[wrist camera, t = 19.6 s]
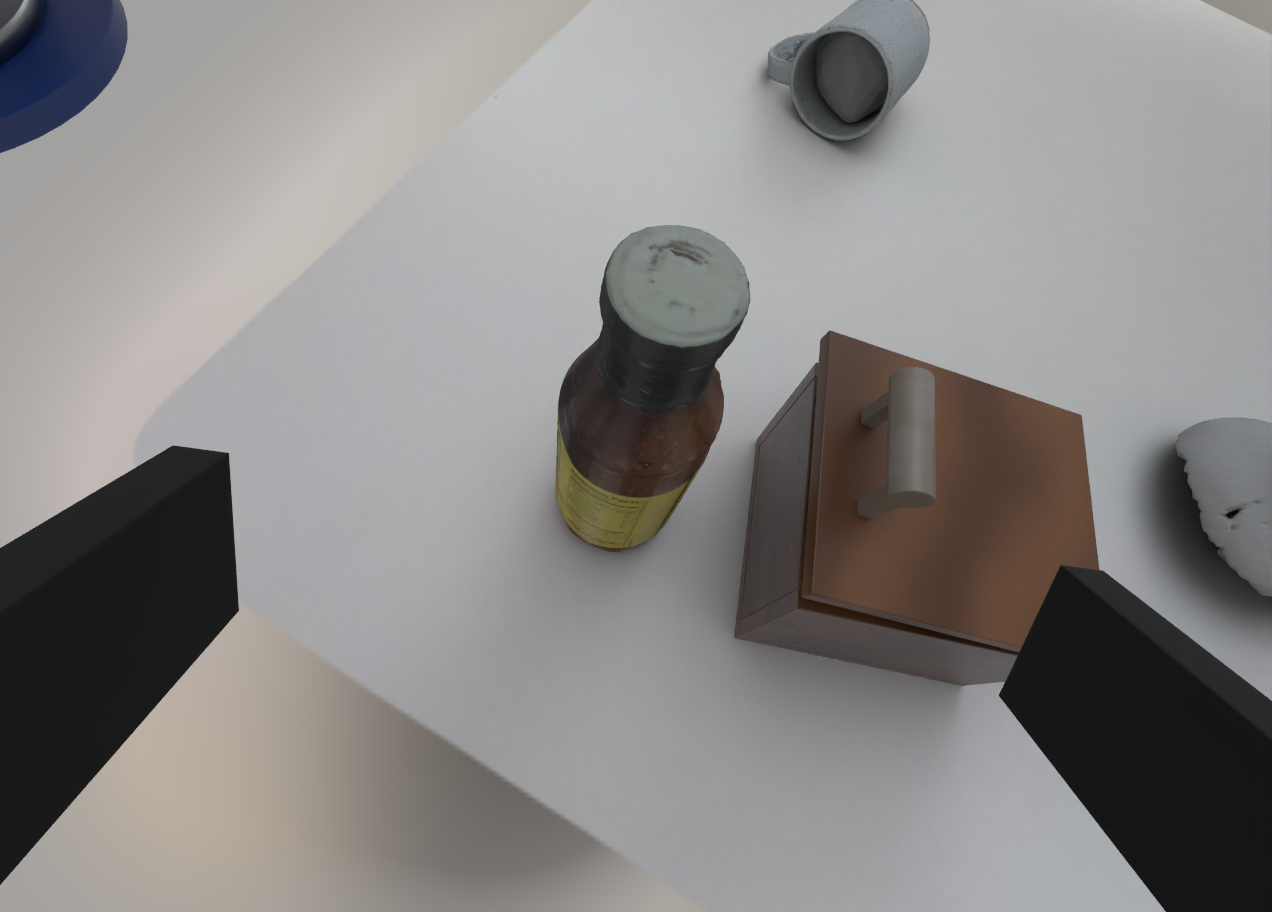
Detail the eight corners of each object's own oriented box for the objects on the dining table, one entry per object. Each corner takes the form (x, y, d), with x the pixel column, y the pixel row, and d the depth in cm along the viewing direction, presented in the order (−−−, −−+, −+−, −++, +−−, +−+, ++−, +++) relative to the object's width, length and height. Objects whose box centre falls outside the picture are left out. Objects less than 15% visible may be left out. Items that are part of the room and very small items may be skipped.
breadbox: (733, 637, 34) (796, 608, 26) (756, 439, 39) (815, 362, 31) (963, 686, 35) (1093, 672, 27) (958, 485, 39) (1067, 422, 31)
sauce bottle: (615, 428, 38) (694, 144, 19) (691, 507, 36) (850, 285, 18) (526, 498, 35) (520, 250, 17) (603, 585, 34) (686, 419, 16)
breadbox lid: (800, 597, 24) (870, 575, 20) (819, 338, 29) (879, 279, 25) (1093, 672, 27) (1207, 664, 23) (1067, 421, 31) (1158, 379, 27)
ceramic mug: (904, 106, 52) (961, 7, 45) (858, 161, 49) (911, 64, 42) (793, 39, 54) (831, -66, 47) (741, 89, 50) (774, -17, 43)
